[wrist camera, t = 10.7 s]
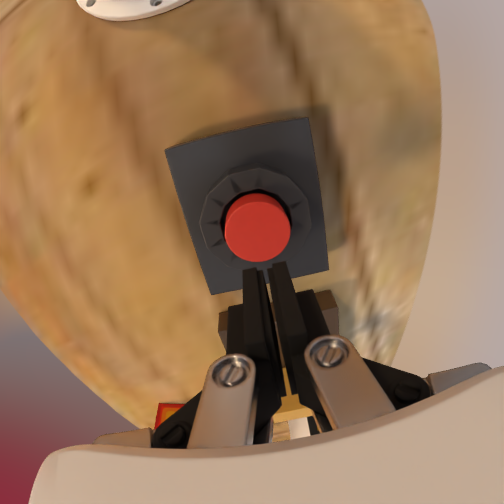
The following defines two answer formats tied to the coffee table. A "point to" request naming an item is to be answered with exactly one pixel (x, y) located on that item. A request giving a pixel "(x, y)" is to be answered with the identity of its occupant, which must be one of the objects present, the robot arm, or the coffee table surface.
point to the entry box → (247, 182)
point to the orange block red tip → (290, 405)
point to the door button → (257, 227)
